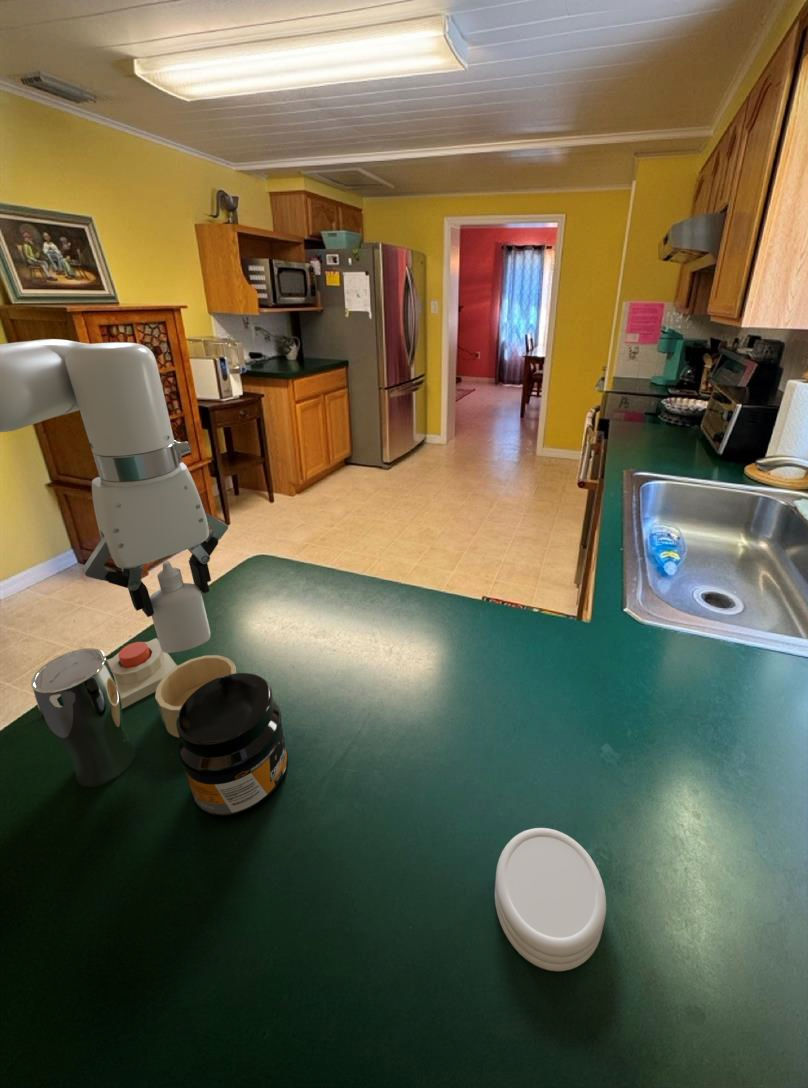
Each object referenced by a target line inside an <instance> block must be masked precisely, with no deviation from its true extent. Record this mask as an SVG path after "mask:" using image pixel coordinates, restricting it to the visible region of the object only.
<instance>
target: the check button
mask: <svg viewBox="0 0 808 1088" xmlns="http://www.w3.org/2000/svg"><path fill="white" fill-rule="evenodd" d="M145 642H146V641H135V642H132V643H129V644H127V645H125V646H124V647H122V648H121V649H120V650H119V652H118V653H119V659H120V662H121V665H122V666H123V667H125V668H130V667H136V666H138V665H140V664H142V663H144V662H145V661H147V660H148V659H149V657H150V652H149V649H148V645H147V644H146V643H145Z"/></svg>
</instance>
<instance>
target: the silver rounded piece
mask: <svg viewBox="0 0 808 1088" xmlns="http://www.w3.org/2000/svg"><path fill="white" fill-rule="evenodd" d="M106 656H107V655H106V654H105V652H104V651H103V650H101V649H98V648H94V647H93V648H92V647H91V648H89V647H87V648H86V647H85V648H80V649H75V650H72V651H68V652H66V653H63V654H61V655H59V656H57V657H55V658H53V659H51V660H49V661H48V662H47V663H45V664H44V665H43V666H42V667H40V668H39V669H38V670H37V671H36V673H34V675H33V676H32V678H31V681H30V686H31V688H32V690H33V691H32V692H33V694H34V697H35V698H34V699H35V701H36V704H37V708H38V710H39V713H40V715H41V718H42V719H43V722H44V724H45V725H46V727H47V728H48V730H49V731H50V733H51V734H52V735H53V737H55V739H56V740H57V741H58V742H59V743H60V745H62V747H63V748H64V749H65V750H66V751H67V752H68V754H69V755H70V758H71V759H72V762H73V765H74V771H75V772H74V774H75V780H76V782H77V783H78V784H79V785H80V786H81V787H86V788H96V787H99V786H103V785H106V784H108V783H110V782H112V781H113V780H115V779H117V778H118V777H120V776H121V775H122V774H123V773H124V772H125V771H126V770H128V768H130V766H131V765H132V764H133V762H134V760H135V758H136V754H137V747H136V745H135V744H134V742H133V741H132V740H131V738H130V737H129V736H128V734H127V733H126V730H125V726H124V718H123V709H122V703H121V696H120V690H119V687H118V683H117V680H116V678H115V675H114V673H113V671H112V669H111V667H110V665H109V663H108V661H107V660H108V659H107V657H106Z"/></svg>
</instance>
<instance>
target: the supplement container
mask: <svg viewBox="0 0 808 1088" xmlns="http://www.w3.org/2000/svg"><path fill="white" fill-rule="evenodd" d="M281 712H282V711H281V708H280V706H279V704H278V702H277V701H276V700H275V698H274V695H273V690H272V686H271V685H270V683H269V682H268V681H267V680H266V679H265V678H263V677H262V676H260V675H258V674H254V673H250V672H237V673H234V674H229V675H225V676H221V677H219V678H216V679H214V680H212V681H210V682H208V683H206V684H204V685H203V686H201V687H200V688H198V689H197V690H196V691H195V692H194V693H192V694H191V695H190V696H189V697H188V699H187V700H186V701H185V702H184V704H183V705H182V707H181V708H180V710H179V713H178V716H177V721H176V725H177V730H178V734H179V737H178V740H177V755H178V757H179V761H180V762H181V764H182V765H183V769H184V771H185V775H186V778H187V780H188V786H189V788H190V791H191V792H190V793H191V798H192V802H193V803H194V805H195V807H196V809H197V810H198V811H199V812H200V813H201V814H202V815H204V816H205V817H207V818H210V819H212V820H217V821H232V820H236V819H241V818H244V817H246V816H248V815H250V814H253V813H254V812H256V811H257V810H259V809H260V808H262V807H263V806H265V805H266V804H267V803H268V802H269V801H270V800H271V799H272V798H273V797H274V796H275V795H276V794H277V792H278V791H279V790H280V788H281V786H282V785H283V783H284V781H285V779H286V776H287V772H288V768H289V754H288V750H287V747H286V742H285V741H286V740H285V736H284V731H283V725H282V713H281Z"/></svg>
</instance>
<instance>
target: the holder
mask: <svg viewBox="0 0 808 1088" xmlns="http://www.w3.org/2000/svg"><path fill="white" fill-rule="evenodd" d="M234 673H238V671H237V666H236V664H235V663H234V661H232V660H231V659H230V658H228V657H226V656H222V655H219V654H218V655H217V654H215V655H213V654H212V655H211V654H210V655H207V654H206V655H202V656H198V657H194V658H190V659H188V660H186V661H184V662H183V663H180V664H177V667H175V668H174V669H173V670H171V671H170V672H169V673H168V674H166V675H165V676H164V677H163V679H162V680H161V682H160V683H159V685H158V686H157V688H156V692H155V695H154V698H155V702H156V705H157V709H158V712H159V714H160V715H159V716H160V717H161V721H162V724H163V726H164V728H165V730H166V731H167V732H168V733H169V734H170V735H171V736H172V737H176V738H179V734H178V730H177V725H176V721H177V716H178V713H179V710H180V708H181V707H182V705H183V704H184V702H185V701H186V700H187V699H188V697H189V696H190V695H191V694H192V693H194V692H195V691H196V690H197V689H198V688H200V687H201V686H203V685H204V684H206V683H208V682H210V681H212V680H214V679H216V678H219V677H221V676H225V675H229V674H234Z"/></svg>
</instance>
